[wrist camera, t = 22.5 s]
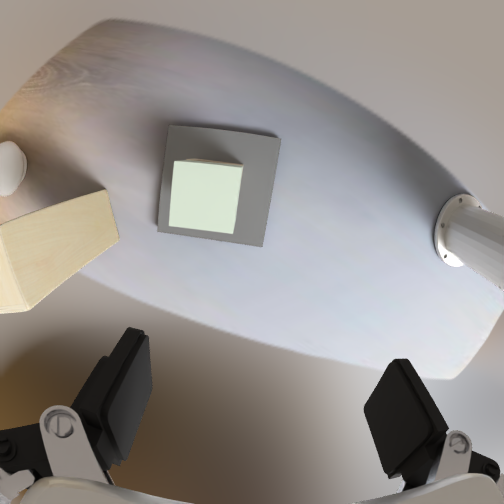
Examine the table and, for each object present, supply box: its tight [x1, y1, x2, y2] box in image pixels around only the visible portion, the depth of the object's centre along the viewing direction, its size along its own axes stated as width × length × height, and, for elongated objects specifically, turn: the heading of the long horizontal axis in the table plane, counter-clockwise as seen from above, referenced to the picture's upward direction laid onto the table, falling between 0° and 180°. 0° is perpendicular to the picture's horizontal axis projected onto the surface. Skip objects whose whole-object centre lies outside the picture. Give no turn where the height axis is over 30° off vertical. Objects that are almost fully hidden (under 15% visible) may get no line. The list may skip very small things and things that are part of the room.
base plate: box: [157, 125, 281, 247], centre depth 34 cm, size 14×14×2 cm
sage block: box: [169, 160, 243, 234], centre depth 26 cm, size 6×6×5 cm
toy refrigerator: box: [0, 189, 119, 314], centre depth 26 cm, size 8×7×21 cm
